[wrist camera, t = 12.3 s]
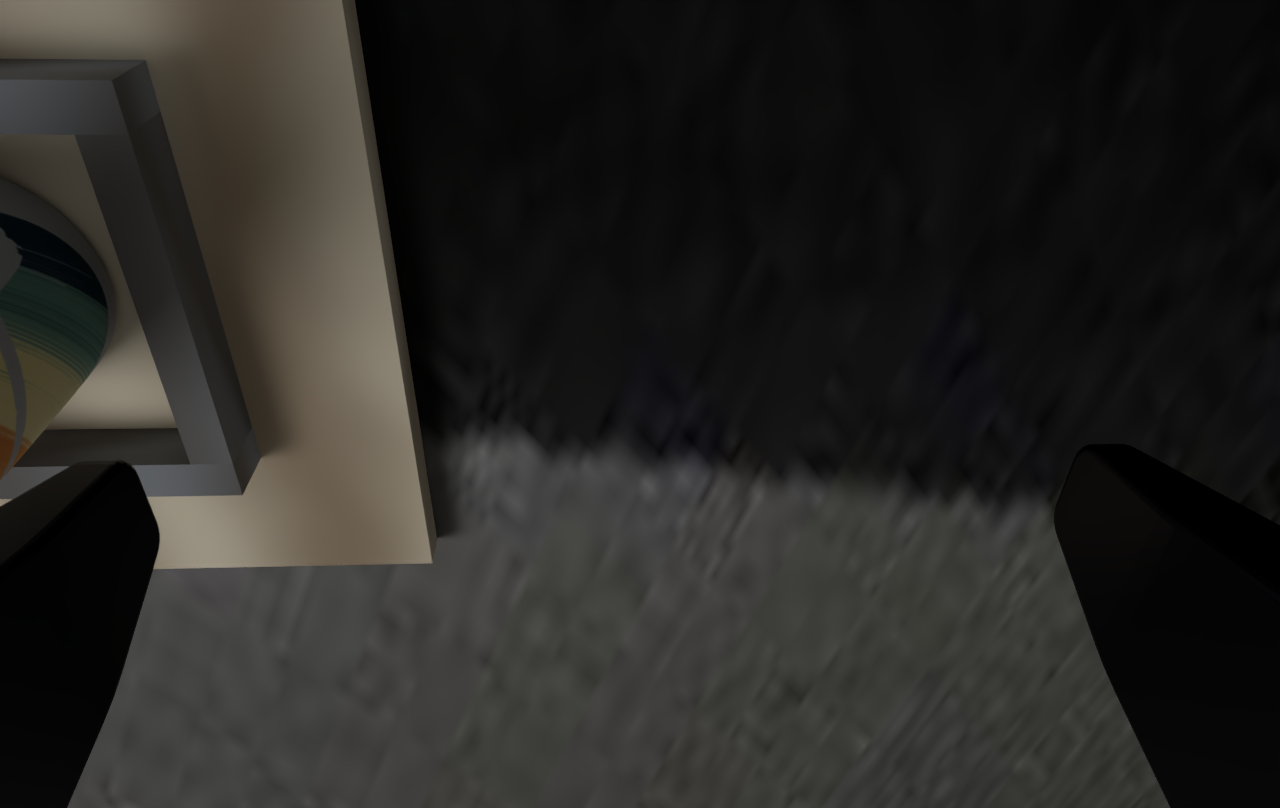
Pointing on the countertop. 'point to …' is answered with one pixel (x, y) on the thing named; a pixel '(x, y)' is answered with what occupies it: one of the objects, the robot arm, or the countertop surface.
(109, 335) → the lotion bottle
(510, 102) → the countertop surface
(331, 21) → the port board
